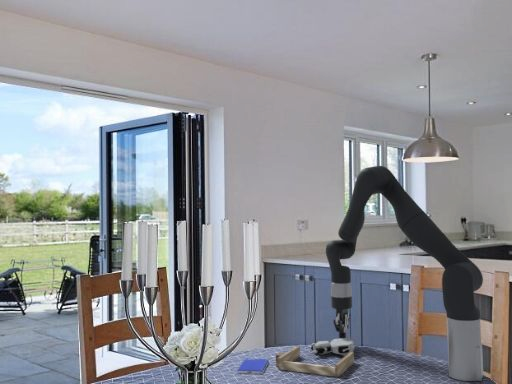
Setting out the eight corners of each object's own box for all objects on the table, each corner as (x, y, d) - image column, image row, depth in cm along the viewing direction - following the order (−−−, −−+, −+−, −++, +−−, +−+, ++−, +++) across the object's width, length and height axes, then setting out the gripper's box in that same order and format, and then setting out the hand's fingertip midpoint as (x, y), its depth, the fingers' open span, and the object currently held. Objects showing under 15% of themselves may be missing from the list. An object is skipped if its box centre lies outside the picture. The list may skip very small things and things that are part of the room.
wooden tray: (354, 362, 173) (353, 352, 173) (338, 376, 160) (338, 365, 160) (291, 355, 184) (291, 345, 184) (272, 368, 170) (271, 357, 170)
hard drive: (244, 358, 178) (236, 369, 166) (268, 359, 177) (262, 370, 165) (244, 363, 178) (236, 375, 166) (268, 363, 177) (262, 375, 165)
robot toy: (312, 361, 180) (357, 358, 179) (311, 348, 180) (355, 344, 179) (311, 351, 192) (353, 348, 191) (309, 339, 192) (351, 335, 191)
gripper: (345, 298, 188) (347, 348, 187) (356, 292, 199) (358, 339, 199) (325, 297, 191) (326, 345, 191) (337, 291, 203) (338, 337, 202)
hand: (342, 342), depth 195 cm, fingers closed
